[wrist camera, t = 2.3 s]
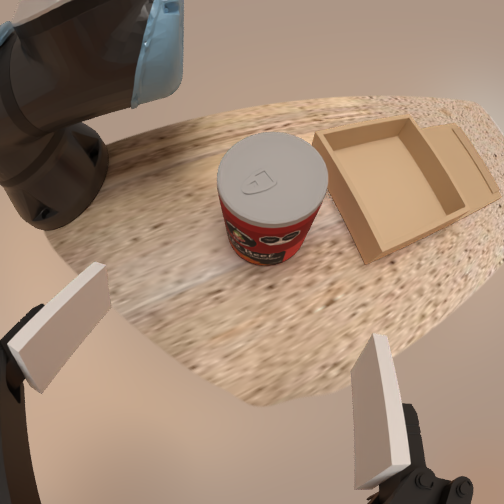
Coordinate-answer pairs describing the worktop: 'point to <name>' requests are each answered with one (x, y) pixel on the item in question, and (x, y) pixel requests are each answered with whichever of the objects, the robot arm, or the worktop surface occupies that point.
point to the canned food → (270, 195)
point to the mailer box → (402, 180)
